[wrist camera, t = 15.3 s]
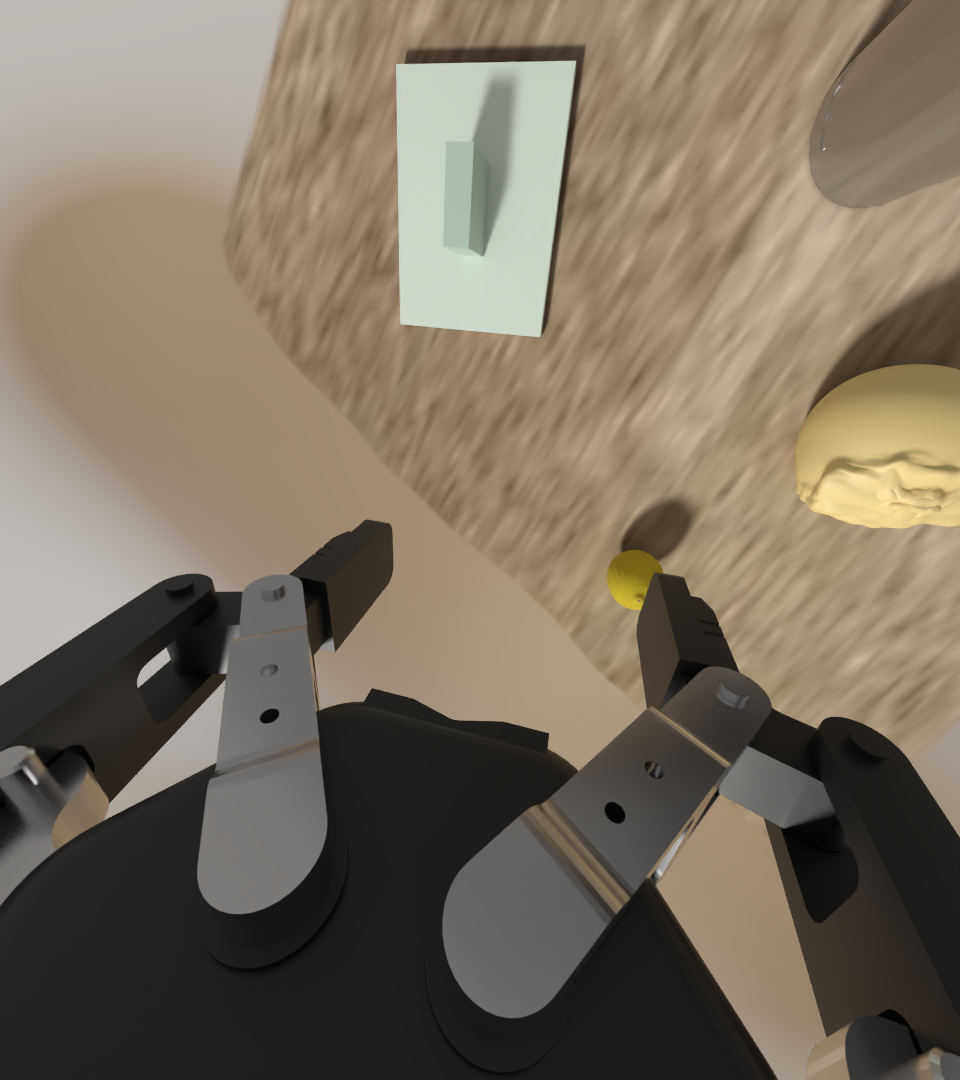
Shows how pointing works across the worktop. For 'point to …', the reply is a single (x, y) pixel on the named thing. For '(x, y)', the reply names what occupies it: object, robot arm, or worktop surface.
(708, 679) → the robot arm
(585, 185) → the worktop surface
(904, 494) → the sculpture
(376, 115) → the worktop surface
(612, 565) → the lemon
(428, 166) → the lid
